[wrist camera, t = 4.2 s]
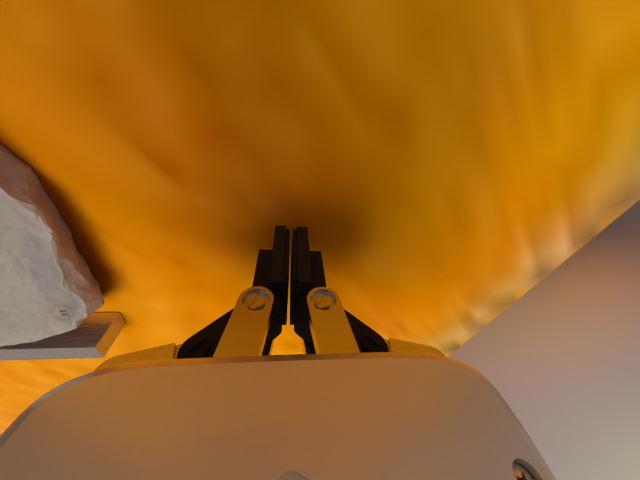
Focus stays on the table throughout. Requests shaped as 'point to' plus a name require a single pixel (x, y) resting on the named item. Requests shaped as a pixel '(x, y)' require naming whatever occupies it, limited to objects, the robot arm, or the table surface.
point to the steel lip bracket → (72, 340)
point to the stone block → (38, 262)
